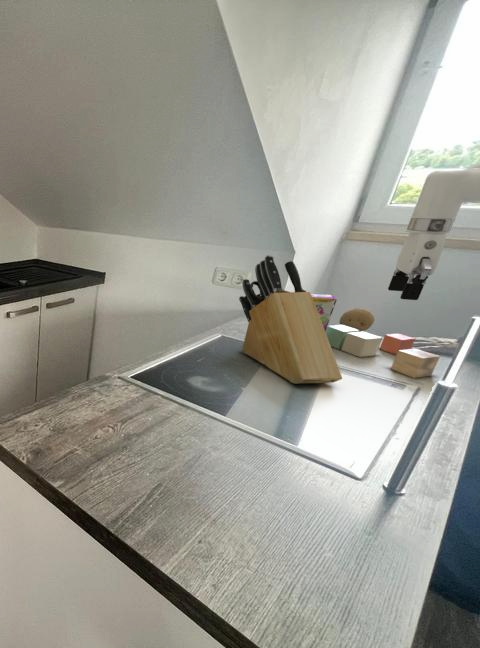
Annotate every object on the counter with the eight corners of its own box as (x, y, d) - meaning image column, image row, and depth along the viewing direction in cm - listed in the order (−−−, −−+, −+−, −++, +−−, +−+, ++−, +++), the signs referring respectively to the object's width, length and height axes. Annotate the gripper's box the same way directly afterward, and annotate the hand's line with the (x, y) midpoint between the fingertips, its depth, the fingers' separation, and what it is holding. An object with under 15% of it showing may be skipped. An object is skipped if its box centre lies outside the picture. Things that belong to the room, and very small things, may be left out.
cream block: (356, 348, 128) (362, 331, 126) (375, 355, 123) (382, 337, 120) (341, 350, 127) (347, 332, 125) (359, 357, 122) (366, 339, 119)
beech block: (407, 367, 114) (415, 348, 112) (431, 375, 109) (440, 356, 107) (390, 369, 114) (398, 350, 111) (413, 377, 108) (422, 358, 106)
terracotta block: (392, 347, 128) (398, 333, 126) (409, 353, 123) (415, 338, 121) (379, 348, 127) (385, 334, 125) (396, 354, 123) (402, 339, 121)
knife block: (256, 341, 136) (280, 251, 124) (340, 388, 104) (383, 272, 91) (224, 342, 136) (245, 252, 123) (298, 389, 104) (336, 274, 91)
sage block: (336, 340, 134) (342, 324, 132) (353, 347, 129) (359, 330, 126) (321, 342, 133) (326, 325, 131) (338, 348, 128) (344, 331, 126)
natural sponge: (360, 341, 133) (371, 313, 129) (330, 334, 140) (339, 307, 136) (372, 336, 137) (382, 309, 133) (341, 329, 145) (350, 303, 140)
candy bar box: (283, 342, 134) (296, 296, 128) (279, 337, 139) (292, 292, 132) (322, 345, 131) (338, 298, 124) (316, 340, 135) (331, 294, 129)
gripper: (468, 230, 86) (435, 304, 93) (435, 223, 100) (409, 288, 107) (422, 229, 89) (393, 301, 96) (396, 222, 103) (373, 286, 110)
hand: (401, 294), depth 101 cm, fingers open, 9 cm apart
